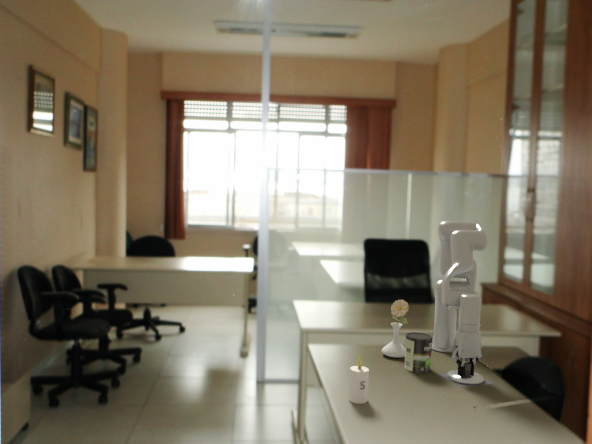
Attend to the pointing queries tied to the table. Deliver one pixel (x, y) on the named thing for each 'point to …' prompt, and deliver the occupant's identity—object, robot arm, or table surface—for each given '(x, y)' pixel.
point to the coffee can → (418, 352)
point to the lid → (466, 376)
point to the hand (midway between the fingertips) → (465, 374)
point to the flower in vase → (397, 330)
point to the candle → (358, 383)
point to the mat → (463, 384)
